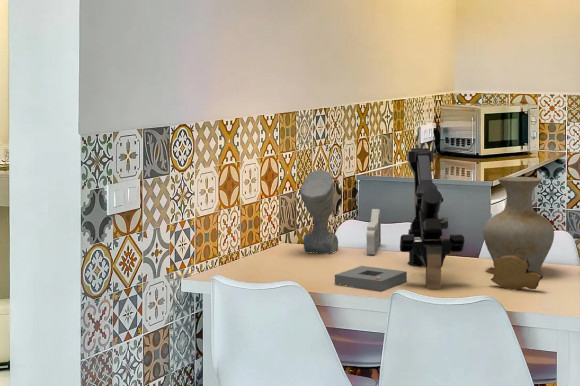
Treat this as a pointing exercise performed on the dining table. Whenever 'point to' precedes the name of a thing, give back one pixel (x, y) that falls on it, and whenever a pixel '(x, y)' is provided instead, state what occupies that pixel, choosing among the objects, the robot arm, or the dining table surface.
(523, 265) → the wooden carving
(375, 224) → the decorative sign
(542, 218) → the vase
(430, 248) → the plug
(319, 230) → the sculpture
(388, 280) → the socket
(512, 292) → the dining table surface
